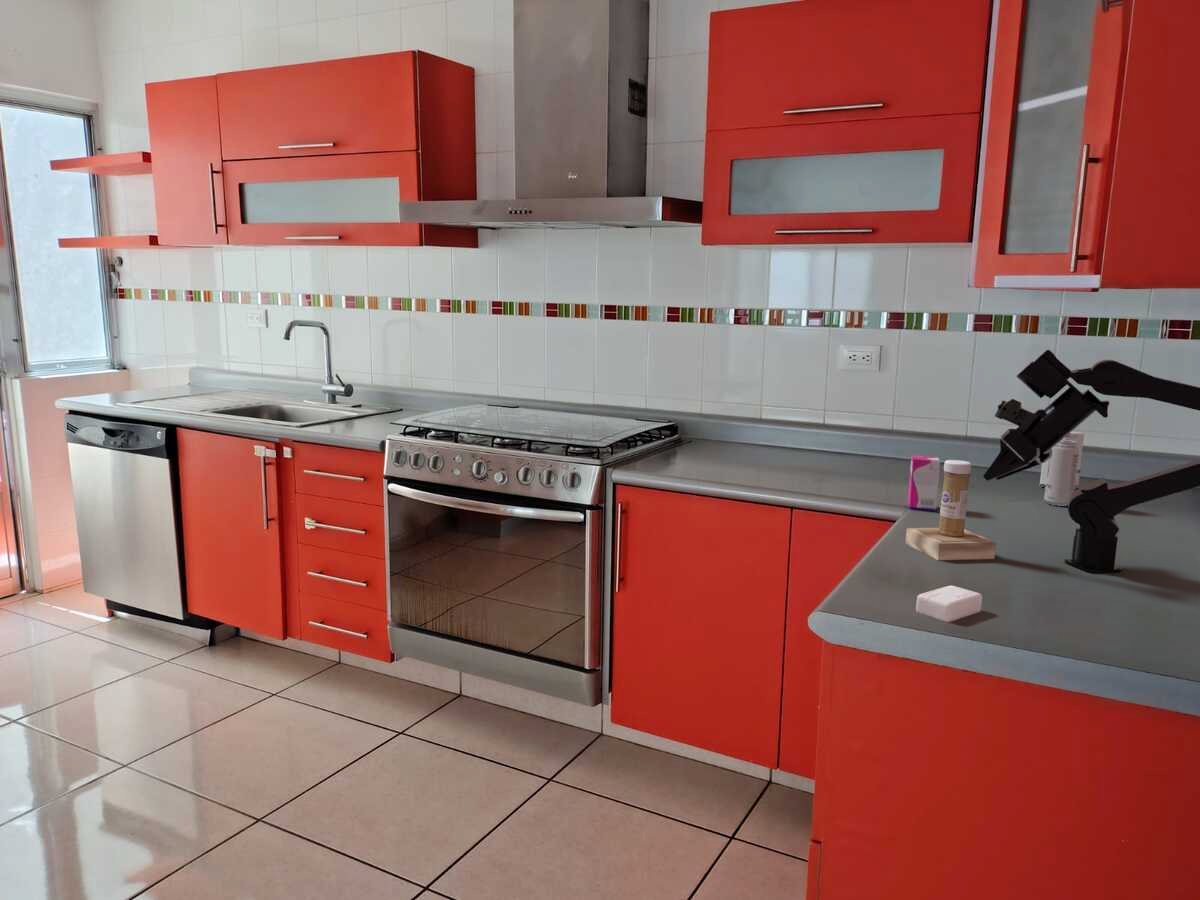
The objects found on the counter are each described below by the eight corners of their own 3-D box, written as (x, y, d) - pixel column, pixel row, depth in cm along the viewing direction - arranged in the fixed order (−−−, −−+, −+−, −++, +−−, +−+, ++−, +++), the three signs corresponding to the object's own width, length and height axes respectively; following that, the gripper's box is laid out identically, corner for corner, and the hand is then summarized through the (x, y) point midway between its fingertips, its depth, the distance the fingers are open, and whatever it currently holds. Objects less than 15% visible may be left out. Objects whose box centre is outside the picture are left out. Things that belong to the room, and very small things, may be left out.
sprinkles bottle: (932, 533, 163) (939, 460, 161) (947, 530, 165) (954, 458, 163) (955, 538, 159) (962, 464, 157) (969, 535, 162) (977, 462, 160)
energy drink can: (1044, 500, 212) (1051, 438, 210) (1073, 504, 209) (1080, 440, 207) (1042, 504, 207) (1049, 441, 205) (1071, 508, 204) (1079, 443, 202)
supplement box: (933, 506, 201) (938, 456, 200) (936, 511, 196) (941, 460, 194) (906, 504, 203) (911, 454, 201) (908, 509, 197) (913, 458, 196)
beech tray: (994, 558, 158) (996, 541, 158) (937, 560, 156) (939, 542, 156) (958, 542, 169) (960, 526, 169) (905, 543, 167) (906, 527, 166)
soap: (948, 602, 134) (950, 583, 133) (982, 613, 130) (984, 593, 129) (913, 613, 128) (915, 593, 128) (948, 625, 124) (950, 604, 124)
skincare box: (1060, 492, 223) (1066, 433, 221) (1037, 487, 229) (1044, 430, 226) (1079, 489, 228) (1086, 432, 226) (1056, 485, 233) (1063, 428, 231)
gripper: (1034, 388, 165) (969, 446, 171) (1016, 380, 150) (945, 444, 156) (1081, 431, 160) (1012, 489, 167) (1067, 428, 145) (992, 492, 151)
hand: (990, 478), depth 160 cm, fingers open, 9 cm apart
